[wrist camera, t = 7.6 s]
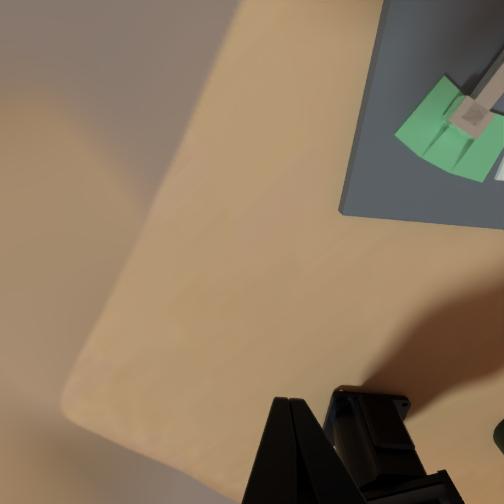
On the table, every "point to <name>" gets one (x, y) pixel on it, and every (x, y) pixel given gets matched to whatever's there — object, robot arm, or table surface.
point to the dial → (477, 103)
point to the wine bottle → (499, 436)
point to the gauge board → (428, 118)
